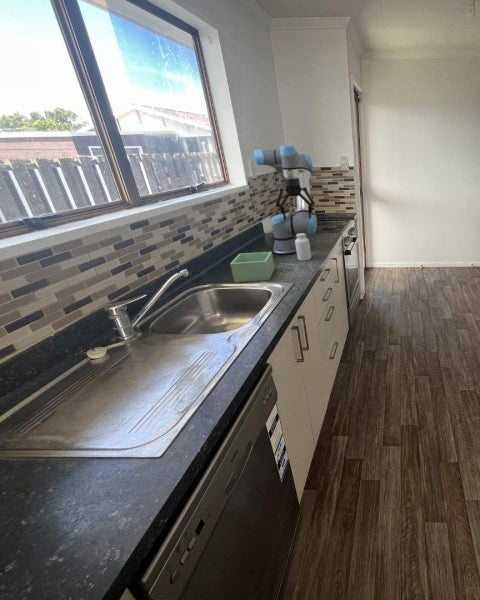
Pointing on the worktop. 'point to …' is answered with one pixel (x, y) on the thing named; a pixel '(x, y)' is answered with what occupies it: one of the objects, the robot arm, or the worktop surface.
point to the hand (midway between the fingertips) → (297, 218)
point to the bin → (252, 267)
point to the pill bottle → (302, 247)
